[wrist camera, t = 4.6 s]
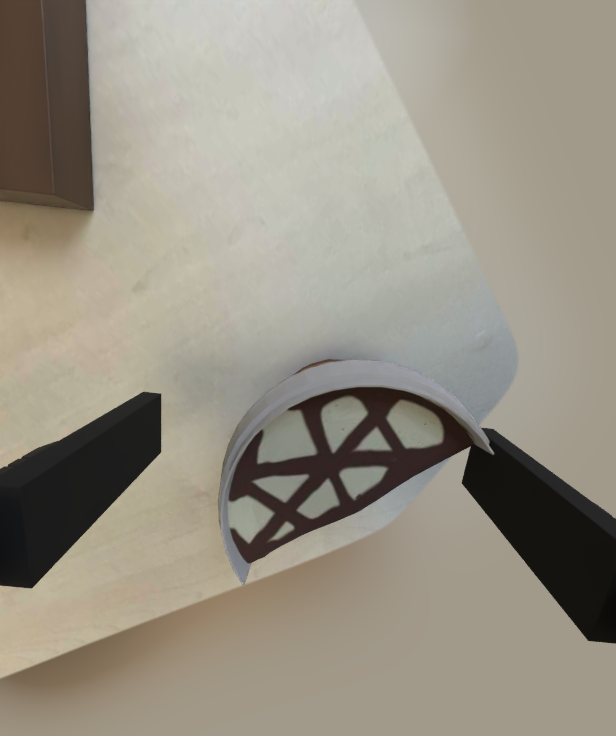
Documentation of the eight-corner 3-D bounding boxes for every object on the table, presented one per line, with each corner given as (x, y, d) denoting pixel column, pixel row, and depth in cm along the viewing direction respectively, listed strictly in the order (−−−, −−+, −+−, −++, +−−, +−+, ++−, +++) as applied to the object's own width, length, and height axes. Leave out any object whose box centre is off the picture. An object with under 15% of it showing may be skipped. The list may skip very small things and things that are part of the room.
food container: (373, 305, 20) (433, 302, 11) (416, 383, 21) (508, 447, 12) (217, 398, 22) (141, 473, 12) (265, 468, 23) (232, 591, 13)
